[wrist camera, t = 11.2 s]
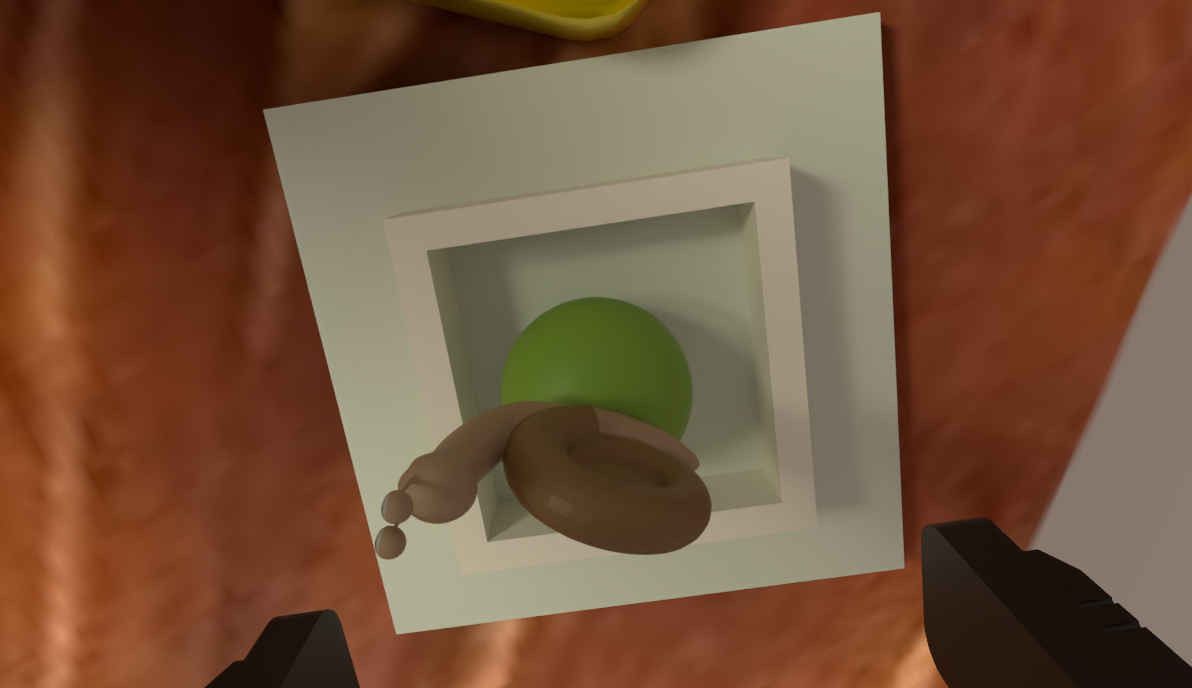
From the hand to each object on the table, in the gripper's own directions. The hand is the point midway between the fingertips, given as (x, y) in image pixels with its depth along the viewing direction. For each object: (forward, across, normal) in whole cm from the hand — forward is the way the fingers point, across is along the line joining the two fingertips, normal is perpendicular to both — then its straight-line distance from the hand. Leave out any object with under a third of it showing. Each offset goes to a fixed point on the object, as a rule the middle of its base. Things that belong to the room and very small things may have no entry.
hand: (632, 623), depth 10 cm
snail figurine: (+14, +1, 0) cm, 14 cm away
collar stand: (+15, 0, 0) cm, 15 cm away
